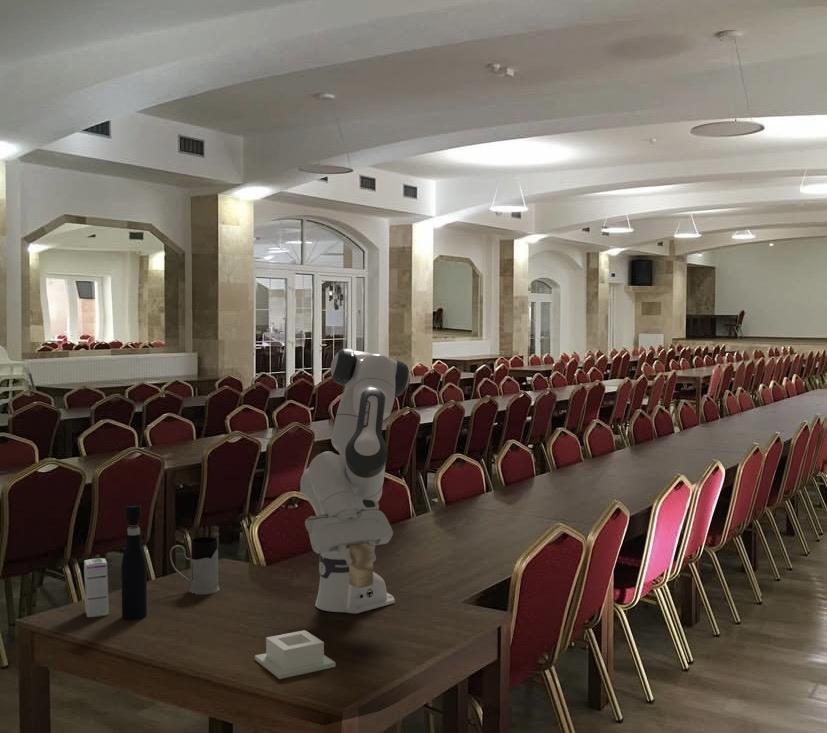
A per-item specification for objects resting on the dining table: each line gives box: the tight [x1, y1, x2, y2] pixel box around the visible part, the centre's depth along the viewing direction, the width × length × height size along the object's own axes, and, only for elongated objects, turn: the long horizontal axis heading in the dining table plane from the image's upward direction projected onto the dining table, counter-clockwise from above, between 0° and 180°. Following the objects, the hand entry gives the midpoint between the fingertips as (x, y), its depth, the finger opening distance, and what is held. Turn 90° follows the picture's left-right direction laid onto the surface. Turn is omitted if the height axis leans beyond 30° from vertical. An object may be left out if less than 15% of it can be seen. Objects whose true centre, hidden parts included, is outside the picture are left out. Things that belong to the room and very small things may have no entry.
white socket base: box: [254, 629, 337, 680], centre depth 216 cm, size 14×14×6 cm
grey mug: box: [169, 536, 220, 595], centre depth 274 cm, size 9×14×15 cm, turn 102°
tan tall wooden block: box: [349, 543, 374, 588], centre depth 214 cm, size 4×4×9 cm
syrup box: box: [83, 557, 110, 618], centre depth 252 cm, size 6×6×14 cm
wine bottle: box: [121, 504, 148, 621], centre depth 249 cm, size 6×6×30 cm
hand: (362, 562), depth 213 cm, fingers closed on tan tall wooden block, 4 cm apart
